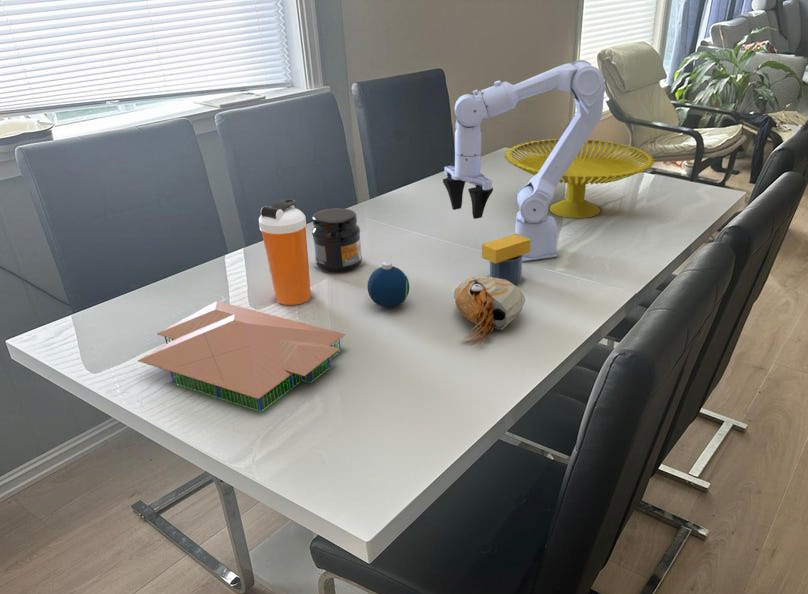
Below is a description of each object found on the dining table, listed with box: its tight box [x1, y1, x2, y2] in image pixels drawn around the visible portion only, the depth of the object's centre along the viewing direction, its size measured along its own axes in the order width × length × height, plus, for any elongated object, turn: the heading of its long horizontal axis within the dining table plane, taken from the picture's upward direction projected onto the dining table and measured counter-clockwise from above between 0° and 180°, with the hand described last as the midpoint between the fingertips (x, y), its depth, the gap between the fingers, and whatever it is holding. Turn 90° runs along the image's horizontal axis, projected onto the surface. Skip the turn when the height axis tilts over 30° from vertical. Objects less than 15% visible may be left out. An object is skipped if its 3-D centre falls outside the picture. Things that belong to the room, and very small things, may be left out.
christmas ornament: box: [366, 260, 410, 309], centre depth 138 cm, size 8×8×10 cm
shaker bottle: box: [258, 198, 312, 306], centre depth 138 cm, size 9×9×20 cm
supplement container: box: [311, 207, 363, 274], centre depth 155 cm, size 10×10×12 cm
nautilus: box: [453, 276, 526, 347], centre depth 132 cm, size 8×22×15 cm
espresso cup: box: [488, 255, 523, 286], centre depth 150 cm, size 7×7×6 cm
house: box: [137, 300, 346, 413], centre depth 119 cm, size 23×33×8 cm
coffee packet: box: [481, 233, 531, 264], centre depth 148 cm, size 10×4×3 cm, turn 130°
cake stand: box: [504, 138, 655, 219], centre depth 189 cm, size 40×40×15 cm
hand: (467, 213), depth 159 cm, fingers open, 7 cm apart
